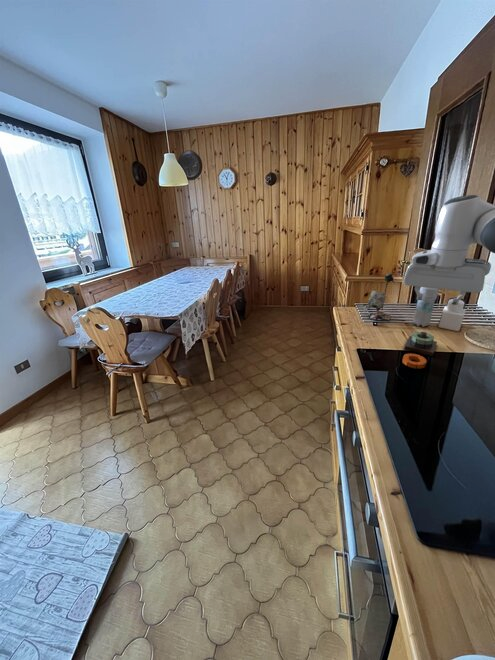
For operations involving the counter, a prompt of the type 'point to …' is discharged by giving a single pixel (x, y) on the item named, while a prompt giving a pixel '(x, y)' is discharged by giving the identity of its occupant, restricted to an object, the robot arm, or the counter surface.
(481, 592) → the counter surface
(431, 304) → the bottle
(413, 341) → the charcoal ring
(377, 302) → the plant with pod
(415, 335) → the sage ring
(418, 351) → the spindle
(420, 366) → the orange ring
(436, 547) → the counter surface
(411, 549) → the counter surface
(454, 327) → the medicine bottle
